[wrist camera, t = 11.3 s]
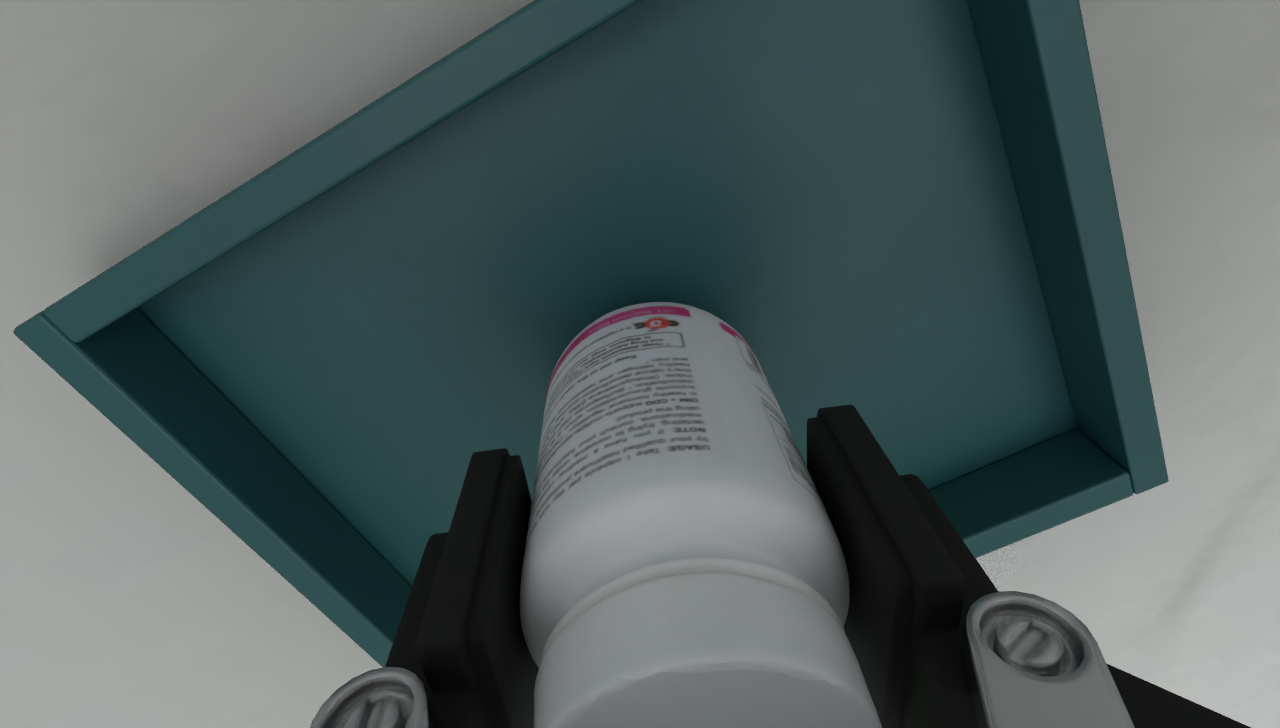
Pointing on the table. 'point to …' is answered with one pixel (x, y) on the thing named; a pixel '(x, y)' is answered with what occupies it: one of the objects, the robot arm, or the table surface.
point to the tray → (644, 272)
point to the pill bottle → (680, 542)
